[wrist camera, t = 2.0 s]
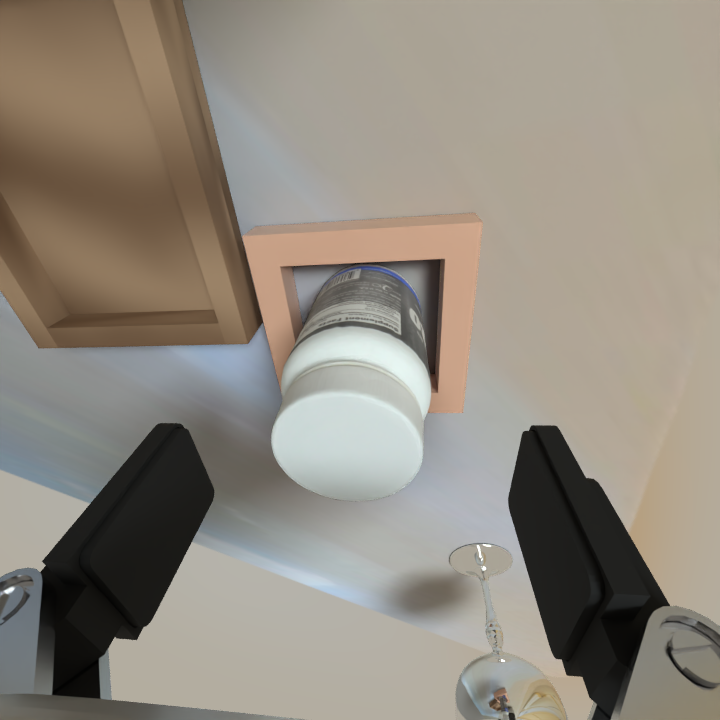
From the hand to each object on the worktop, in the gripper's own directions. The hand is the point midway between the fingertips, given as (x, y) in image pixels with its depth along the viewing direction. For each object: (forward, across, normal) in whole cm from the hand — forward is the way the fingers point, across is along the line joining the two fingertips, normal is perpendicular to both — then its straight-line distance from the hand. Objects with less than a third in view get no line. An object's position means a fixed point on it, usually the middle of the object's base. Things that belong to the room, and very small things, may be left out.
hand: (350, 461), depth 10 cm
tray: (+7, +10, -7) cm, 14 cm away
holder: (+8, 0, -1) cm, 8 cm away
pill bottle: (+8, 0, -1) cm, 8 cm away
